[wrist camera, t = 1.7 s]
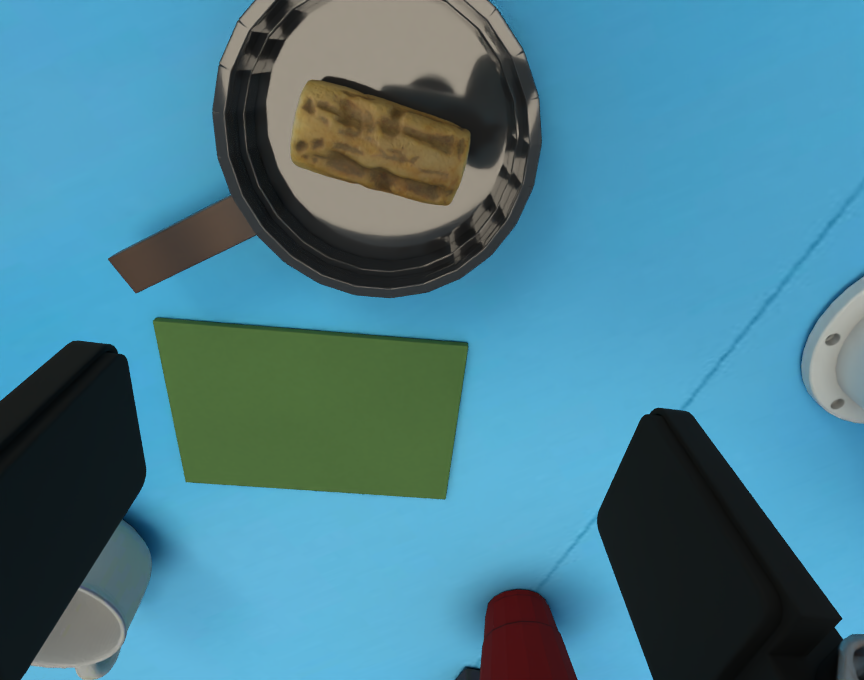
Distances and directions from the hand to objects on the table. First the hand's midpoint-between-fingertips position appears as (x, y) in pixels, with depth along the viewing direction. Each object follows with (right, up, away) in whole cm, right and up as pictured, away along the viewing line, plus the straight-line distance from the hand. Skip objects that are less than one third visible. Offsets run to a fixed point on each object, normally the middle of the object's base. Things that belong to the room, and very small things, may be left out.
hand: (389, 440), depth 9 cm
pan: (-2, +13, +17) cm, 22 cm away
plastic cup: (+9, -23, +38) cm, 45 cm away
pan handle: (-12, +7, +18) cm, 22 cm away
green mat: (-7, -4, +27) cm, 28 cm away
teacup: (-27, -16, +34) cm, 46 cm away
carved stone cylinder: (-2, +13, +17) cm, 21 cm away
